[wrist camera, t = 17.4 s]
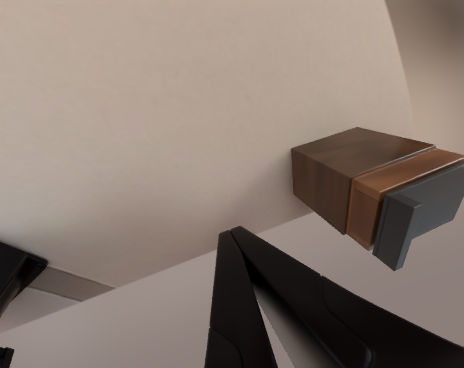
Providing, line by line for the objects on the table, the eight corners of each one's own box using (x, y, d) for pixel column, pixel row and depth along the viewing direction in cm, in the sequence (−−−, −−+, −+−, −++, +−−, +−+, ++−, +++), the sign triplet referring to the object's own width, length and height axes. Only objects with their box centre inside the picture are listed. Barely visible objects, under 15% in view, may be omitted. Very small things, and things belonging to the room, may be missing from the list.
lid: (371, 254, 16) (394, 272, 15) (384, 194, 13) (414, 208, 12) (449, 217, 18) (476, 230, 16) (475, 156, 15) (511, 165, 13)
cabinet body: (293, 194, 25) (343, 235, 19) (291, 148, 22) (349, 177, 15) (352, 172, 27) (417, 203, 20) (357, 126, 24) (436, 144, 17)
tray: (345, 233, 18) (368, 251, 17) (352, 178, 16) (380, 192, 14) (416, 202, 20) (444, 216, 18) (434, 147, 17) (469, 155, 15)
